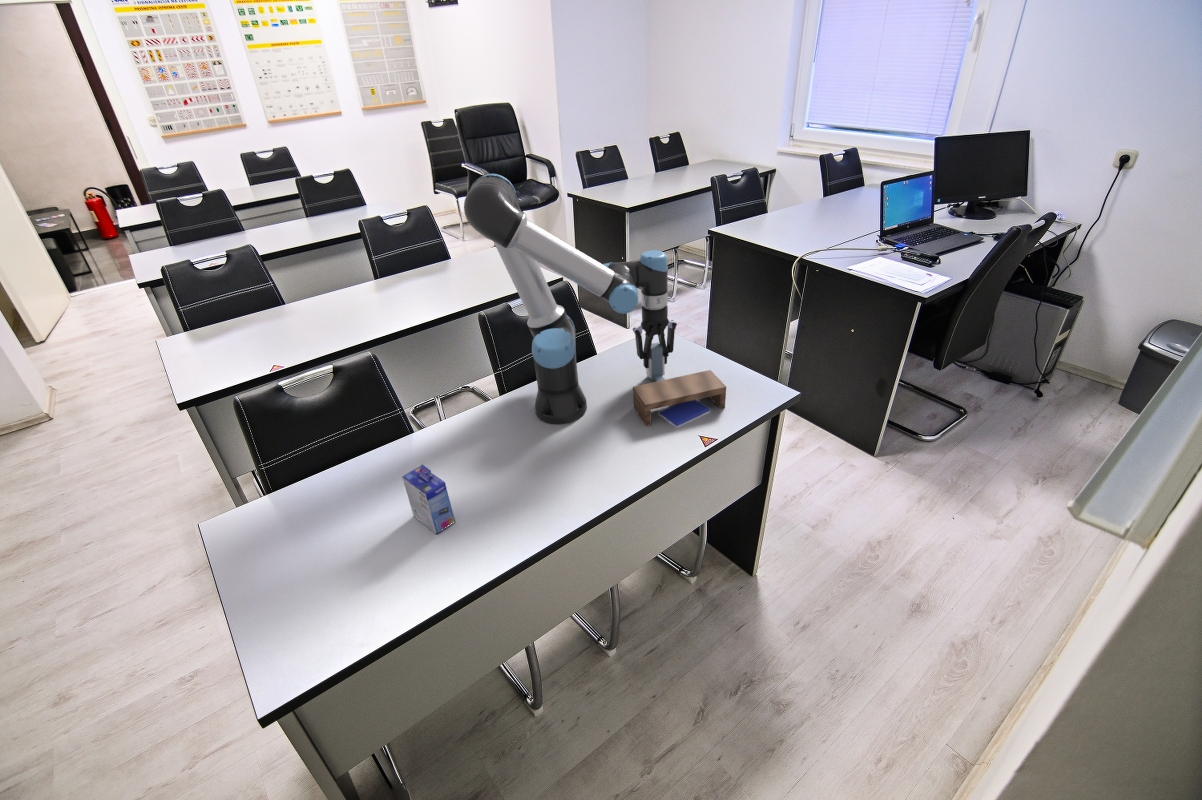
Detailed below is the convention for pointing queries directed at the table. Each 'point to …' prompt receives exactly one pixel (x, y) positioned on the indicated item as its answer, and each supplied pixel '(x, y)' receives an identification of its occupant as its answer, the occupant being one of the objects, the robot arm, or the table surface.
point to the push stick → (657, 362)
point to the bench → (677, 392)
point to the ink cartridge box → (428, 498)
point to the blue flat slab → (684, 412)
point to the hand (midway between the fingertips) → (655, 374)
